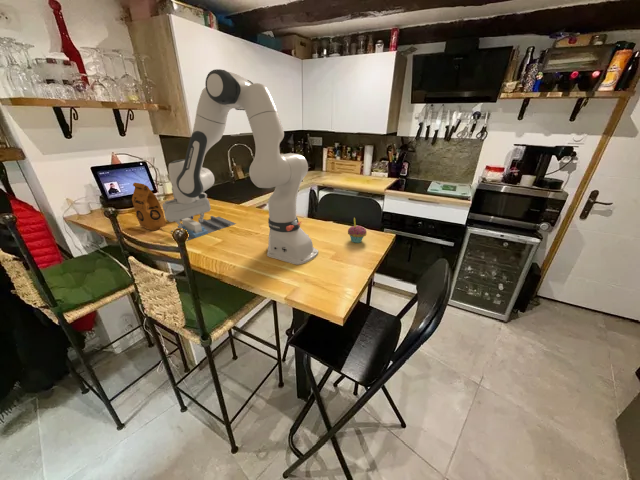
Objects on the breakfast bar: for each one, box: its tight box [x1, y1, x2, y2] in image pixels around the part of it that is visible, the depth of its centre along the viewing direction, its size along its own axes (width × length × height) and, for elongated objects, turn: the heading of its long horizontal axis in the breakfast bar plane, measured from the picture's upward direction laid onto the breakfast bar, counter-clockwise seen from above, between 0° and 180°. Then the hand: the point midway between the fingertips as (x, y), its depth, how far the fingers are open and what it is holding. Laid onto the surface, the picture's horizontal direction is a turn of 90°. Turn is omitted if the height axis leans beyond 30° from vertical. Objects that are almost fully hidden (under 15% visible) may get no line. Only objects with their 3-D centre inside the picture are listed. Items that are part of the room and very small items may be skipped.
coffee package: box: [131, 182, 167, 232], centre depth 127 cm, size 10×12×22 cm
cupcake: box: [347, 217, 367, 244], centre depth 118 cm, size 9×8×12 cm
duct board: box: [170, 215, 237, 242], centre depth 129 cm, size 16×26×3 cm, turn 142°
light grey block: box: [181, 218, 202, 234], centre depth 124 cm, size 12×3×5 cm, turn 52°
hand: (191, 224), depth 124 cm, fingers open, 8 cm apart
